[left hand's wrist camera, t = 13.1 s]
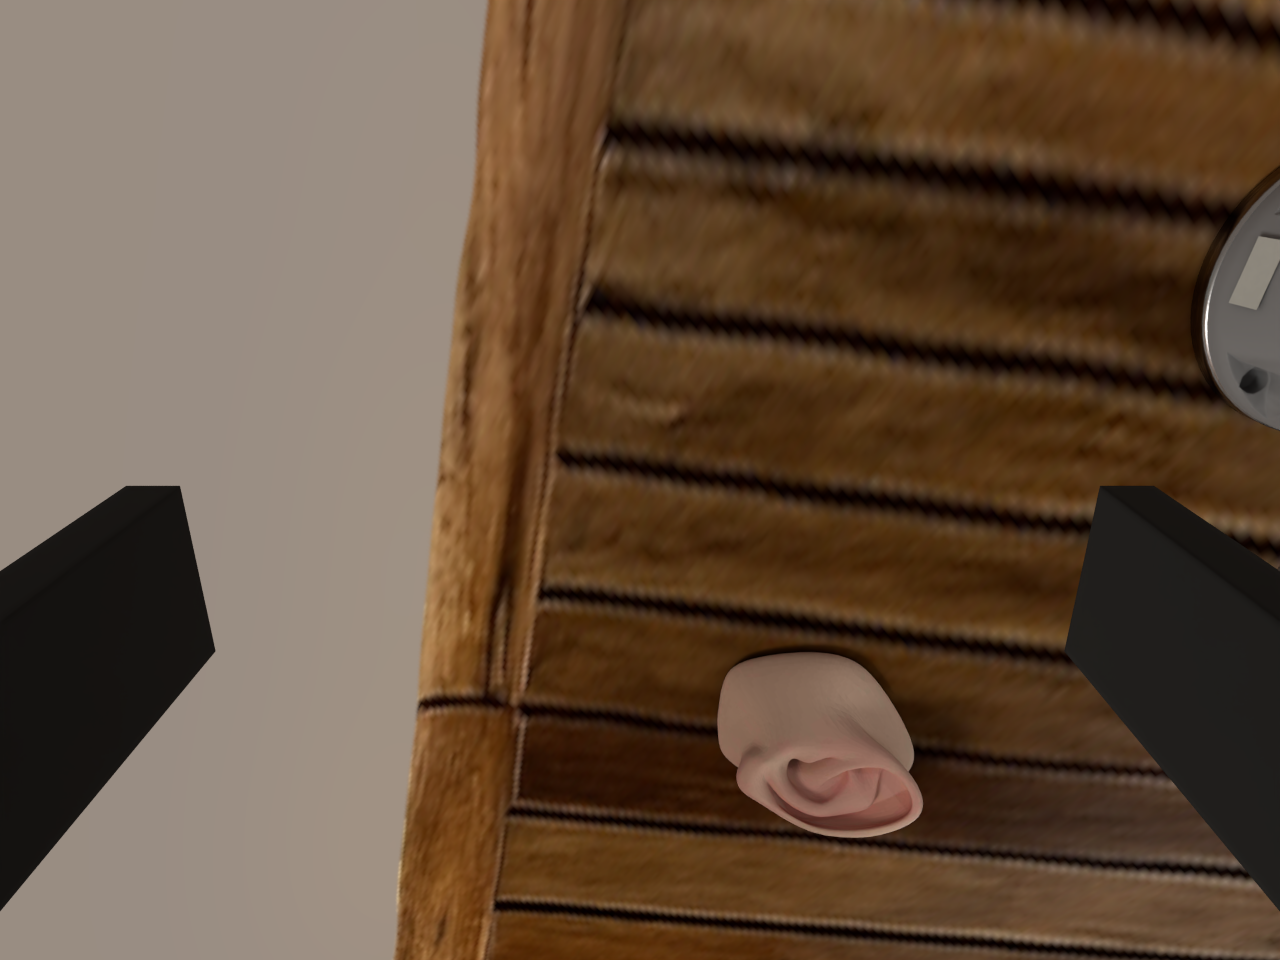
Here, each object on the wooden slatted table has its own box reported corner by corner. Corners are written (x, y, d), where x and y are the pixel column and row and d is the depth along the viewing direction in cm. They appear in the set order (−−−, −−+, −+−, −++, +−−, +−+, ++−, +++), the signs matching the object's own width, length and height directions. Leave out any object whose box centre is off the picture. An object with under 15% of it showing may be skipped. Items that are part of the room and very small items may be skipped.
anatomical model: (692, 719, 50) (884, 654, 48) (689, 678, 53) (867, 617, 52) (767, 879, 54) (945, 825, 52) (759, 831, 58) (925, 780, 56)
